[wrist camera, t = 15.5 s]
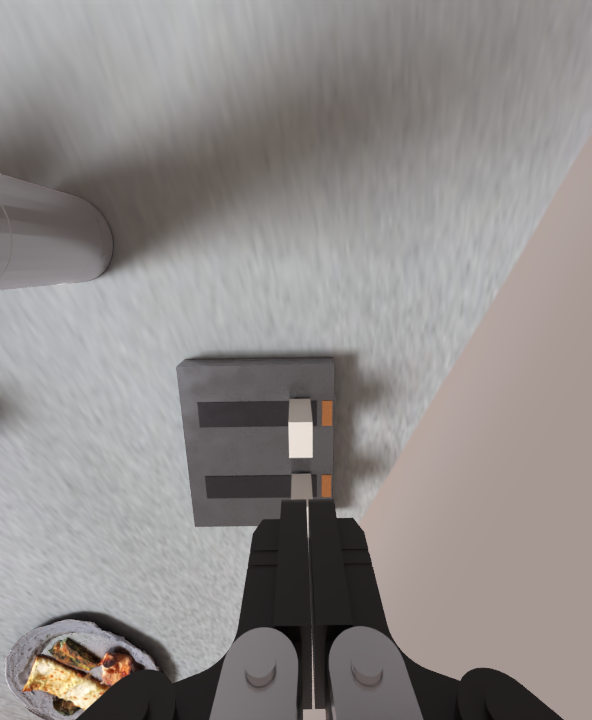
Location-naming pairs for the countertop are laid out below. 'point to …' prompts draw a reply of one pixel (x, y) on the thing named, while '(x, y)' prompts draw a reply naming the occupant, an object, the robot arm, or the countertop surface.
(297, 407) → the on handle
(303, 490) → the handle
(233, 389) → the breaker panel
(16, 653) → the food plate
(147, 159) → the countertop surface
